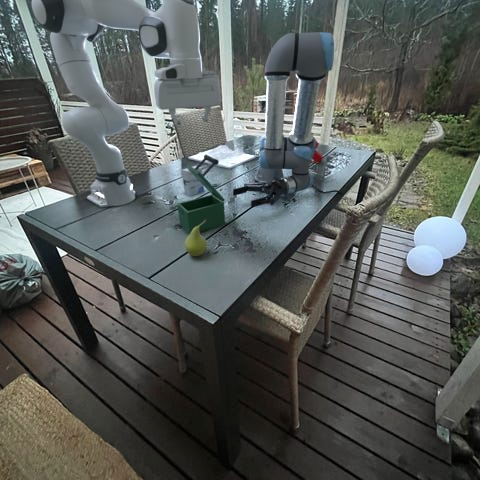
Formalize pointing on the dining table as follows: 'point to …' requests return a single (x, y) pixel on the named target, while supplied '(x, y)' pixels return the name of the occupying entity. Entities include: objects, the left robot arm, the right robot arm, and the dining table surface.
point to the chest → (201, 213)
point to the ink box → (192, 182)
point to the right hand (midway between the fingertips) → (242, 198)
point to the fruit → (196, 242)
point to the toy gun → (317, 154)
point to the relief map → (224, 156)
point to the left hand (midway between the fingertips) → (191, 123)
